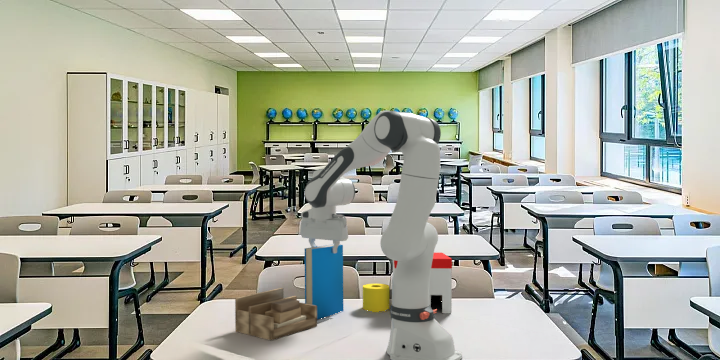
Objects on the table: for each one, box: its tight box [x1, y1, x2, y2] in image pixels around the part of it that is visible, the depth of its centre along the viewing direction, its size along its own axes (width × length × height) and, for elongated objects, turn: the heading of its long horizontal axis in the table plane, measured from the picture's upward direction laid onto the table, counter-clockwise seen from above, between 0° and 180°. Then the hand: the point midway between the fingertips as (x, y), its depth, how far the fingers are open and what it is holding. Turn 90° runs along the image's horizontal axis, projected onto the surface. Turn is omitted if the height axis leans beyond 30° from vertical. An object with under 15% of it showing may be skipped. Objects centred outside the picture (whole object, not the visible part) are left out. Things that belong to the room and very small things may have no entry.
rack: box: [234, 287, 318, 341], centre depth 197 cm, size 17×21×11 cm
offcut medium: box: [265, 307, 301, 324], centre depth 194 cm, size 6×11×3 cm, turn 149°
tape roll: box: [362, 283, 391, 313], centre depth 221 cm, size 10×10×9 cm
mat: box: [317, 318, 333, 325], centre depth 213 cm, size 10×20×1 cm, turn 142°
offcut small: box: [271, 299, 300, 313], centre depth 195 cm, size 5×8×2 cm, turn 139°
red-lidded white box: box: [392, 252, 453, 313], centre depth 231 cm, size 21×35×21 cm, turn 178°
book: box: [304, 243, 344, 319], centre depth 213 cm, size 17×4×25 cm, turn 142°
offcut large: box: [274, 315, 306, 329], centre depth 195 cm, size 7×14×3 cm, turn 145°
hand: (324, 252), depth 213 cm, fingers open, 8 cm apart
